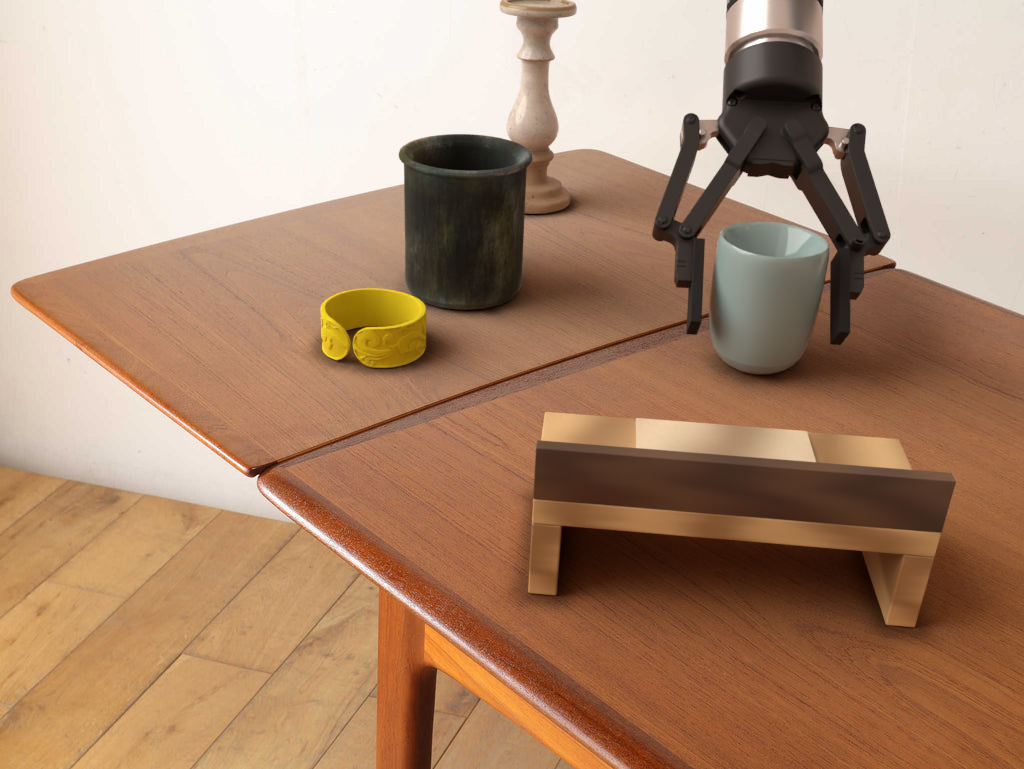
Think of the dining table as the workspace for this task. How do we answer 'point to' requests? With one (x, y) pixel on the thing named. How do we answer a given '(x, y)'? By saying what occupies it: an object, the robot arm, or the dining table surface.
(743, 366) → the cup
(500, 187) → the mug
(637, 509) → the shelf
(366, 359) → the bracelet
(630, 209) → the dining table surface
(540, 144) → the candle holder
